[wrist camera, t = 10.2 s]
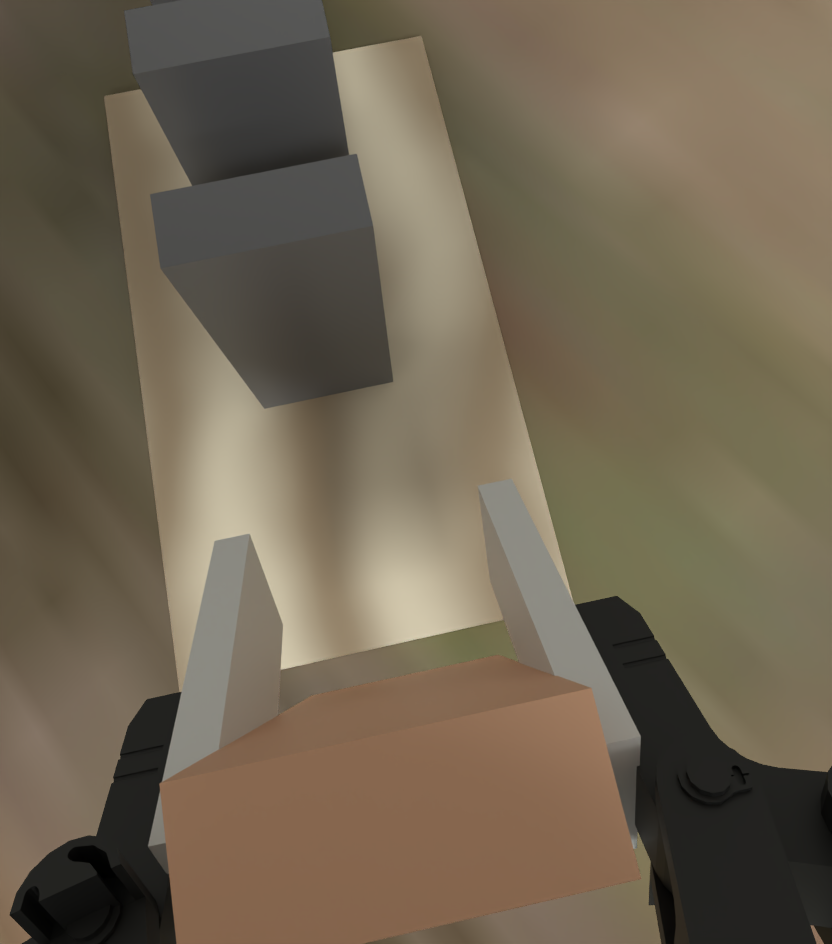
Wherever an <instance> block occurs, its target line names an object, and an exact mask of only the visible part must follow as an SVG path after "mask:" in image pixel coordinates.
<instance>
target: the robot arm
mask: <svg viewBox="0 0 832 944" xmlns="http://www.w3.org/2000/svg"><path fill="white" fill-rule="evenodd" d="M478 492H479V500H480V508H481V515H482V523H483V531H484V538H485V546H486V554H487V561H488V569H489V577H490V582H491V585H492V587H493V590H494V593H495V596H496V599H497V602H498V604H499V607H500V610H501V613H502V616H503V619H504V621H505V624H506V627H507V630H508V633H509V635H510V638H511V641H512V644H513V647H514V650H515V652H516V655H517V658H518V661H519V663H521V664H524V665H527V666H529V667H532V668H535V669H537V670H540V671H543V672H546V673H548V674H551V675H554V676H559V677H562V678H565V679H568V680H571V681H573V682H576V683H579V684H582V685H585V686H587V687H590V688H592V692H593V696H594V699H595V703H596V707H597V711H598V715H599V719H600V722H601V726H602V730H603V734H604V738H605V742H606V745H607V749H608V753H609V757H610V761H611V765H612V768H613V772H614V776H615V780H616V784H617V787H618V791H619V795H620V799H621V803H622V807H623V810H624V814H625V818H626V822H627V826H628V830H629V833H630V837H631V841H632V845H633V849H635V848H637V830H638V833H639V835H640V837H641V840H642V842H643V844H644V846H645V849H646V851H647V853H648V856H649V858H650V860H651V867H650V885H649V905H655V909H656V915H657V920H658V926H659V932H660V938H661V944H816V941H815V938H814V935H813V932H812V929H811V926H810V925H814V927H815V929H816V930H817V932H818V934H819V936H820V937H821V939H822V941H823V942H824V944H832V766H831V768H830V769H829V771H828V772H819V771H808V770H797V769H786V768H778V767H772V766H767V765H762V764H760V763H757V762H754V761H752V760H749V759H746V758H745V757H743V756H741V755H740V754H738V753H737V752H736V751H735V750H733V749H731V748H729V747H728V746H727V745H726V744H724V743H723V742H722V741H721V740H720V739H719V738H718V737H717V735H716V734H715V733H714V732H713V730H712V729H711V728H710V726H709V724H708V723H707V721H706V720H705V718H704V716H703V715H702V713H701V711H700V710H699V708H698V707H697V705H696V703H695V702H694V700H693V698H692V697H691V695H690V694H689V692H688V690H687V689H686V687H685V685H684V684H683V682H682V681H681V679H680V677H679V676H678V674H677V672H676V671H675V669H674V668H673V666H672V664H671V663H670V661H669V659H666V656H665V653H664V651H663V650H662V648H661V647H660V645H659V643H658V642H657V640H655V639H654V635H653V634H652V632H651V630H650V629H649V627H648V625H647V624H646V622H645V621H644V619H643V617H642V616H641V614H640V613H639V612H638V611H636V610H635V609H634V608H632V607H631V606H630V605H628V604H627V603H626V602H624V601H623V600H622V599H620V598H619V597H618V596H614V597H609V598H605V599H600V600H596V601H591V602H586V603H582V604H577V605H575V604H574V602H573V600H572V598H571V596H570V594H569V592H568V590H567V588H566V586H565V584H564V582H563V580H562V578H561V576H560V574H559V572H558V570H557V568H556V566H555V564H554V562H553V560H552V558H551V556H550V554H549V552H548V550H547V548H546V546H545V544H544V542H543V540H542V538H541V536H540V534H539V532H538V530H537V528H536V526H535V524H534V522H533V520H532V518H531V516H530V514H529V512H528V510H527V508H526V506H525V504H524V502H523V500H522V498H521V496H520V494H519V492H518V490H517V488H516V486H515V484H514V482H513V480H512V479H508V480H503V481H498V482H493V483H488V484H484V485H479V486H478ZM282 637H283V623H282V620H281V617H280V615H279V612H278V609H277V607H276V604H275V601H274V598H273V596H272V593H271V590H270V588H269V585H268V582H267V579H266V577H265V574H264V571H263V569H262V566H261V563H260V560H259V558H258V555H257V552H256V550H255V547H254V544H253V541H252V539H251V536H250V534H245V535H240V536H235V537H231V538H226V539H221V540H216V541H214V546H213V551H212V555H211V560H210V564H209V569H208V574H207V578H206V583H205V587H204V592H203V596H202V601H201V606H200V610H199V615H198V619H197V624H196V629H195V633H194V638H193V642H192V647H191V651H190V656H189V661H188V665H187V670H186V674H185V679H184V684H183V688H182V692H179V693H174V694H169V695H165V696H160V697H155V698H151V699H147V700H146V701H145V703H144V704H143V705H142V707H141V708H140V710H139V711H138V713H137V714H136V716H135V717H134V718H133V720H132V721H131V723H130V724H129V726H128V728H127V732H126V735H125V739H124V742H123V746H122V749H121V753H120V756H121V758H120V760H118V763H117V766H116V770H115V773H114V777H113V778H114V783H112V784H111V787H110V790H109V794H108V797H107V801H106V804H105V808H104V811H103V815H102V818H101V821H100V825H99V828H98V832H97V835H96V836H85V837H82V838H78V839H75V840H71V841H68V842H67V843H65V844H64V845H62V846H60V847H59V848H57V849H55V850H54V851H52V852H50V853H49V854H48V855H47V856H46V857H45V858H44V859H43V860H42V861H41V862H40V863H39V864H38V865H37V866H36V867H34V868H33V869H32V870H31V871H30V873H29V874H28V876H27V878H26V879H25V881H24V882H23V884H22V885H21V887H20V888H19V890H18V891H17V893H16V896H15V899H14V902H13V906H12V909H11V912H10V916H11V917H12V918H13V919H14V920H15V921H16V922H17V923H18V924H19V925H20V926H21V927H22V928H23V929H24V930H25V931H26V932H27V933H28V934H29V935H30V936H31V937H32V938H30V939H29V940H27V941H25V942H24V943H22V944H177V943H176V934H175V924H174V915H173V906H172V897H171V887H170V878H169V869H168V859H167V850H166V841H165V831H164V822H163V813H162V803H161V794H160V785H159V784H160V783H161V782H163V781H165V780H166V779H168V778H170V777H172V776H173V775H175V774H177V773H179V772H180V771H182V770H184V769H186V768H187V767H189V766H191V765H192V764H194V763H196V762H198V761H199V760H201V759H203V758H205V757H206V756H208V755H210V754H212V753H213V752H215V751H217V750H219V749H221V748H223V747H225V746H226V745H228V744H230V743H232V742H233V741H235V740H237V739H238V738H240V737H242V736H244V735H245V734H247V733H249V732H251V731H252V730H254V729H256V728H257V727H259V726H261V725H263V724H264V723H266V722H268V721H270V720H271V719H273V718H275V717H276V716H278V707H279V689H280V672H281V654H282Z"/></svg>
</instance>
